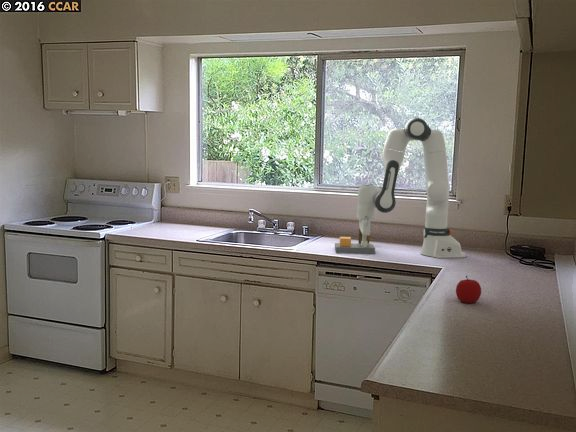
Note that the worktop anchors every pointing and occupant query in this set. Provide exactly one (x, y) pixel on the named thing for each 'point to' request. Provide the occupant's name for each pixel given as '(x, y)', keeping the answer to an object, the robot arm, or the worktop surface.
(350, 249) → the grey flat slab
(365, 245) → the button
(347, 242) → the lockout cap
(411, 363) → the worktop surface
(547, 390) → the worktop surface
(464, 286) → the apple
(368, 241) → the condiment
